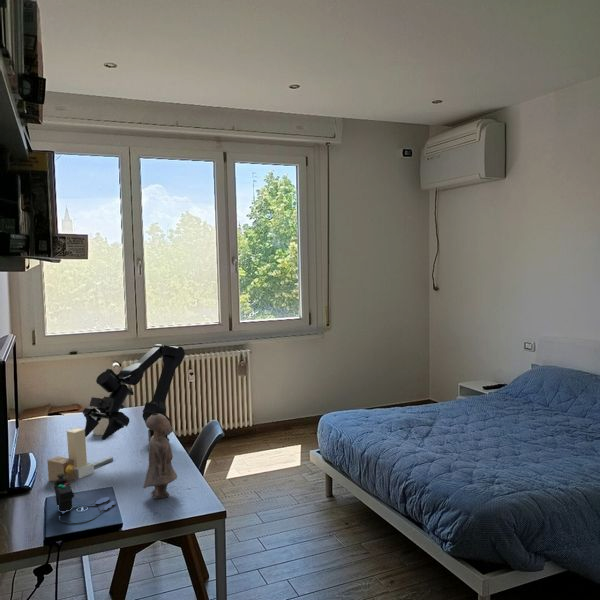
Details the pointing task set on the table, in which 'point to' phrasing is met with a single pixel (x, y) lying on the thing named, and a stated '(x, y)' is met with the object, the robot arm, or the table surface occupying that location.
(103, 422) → the teacup with lid
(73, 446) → the cream block on base
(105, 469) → the table surface
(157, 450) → the clay figurine
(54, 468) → the brown block with rod
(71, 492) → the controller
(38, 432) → the table surface
